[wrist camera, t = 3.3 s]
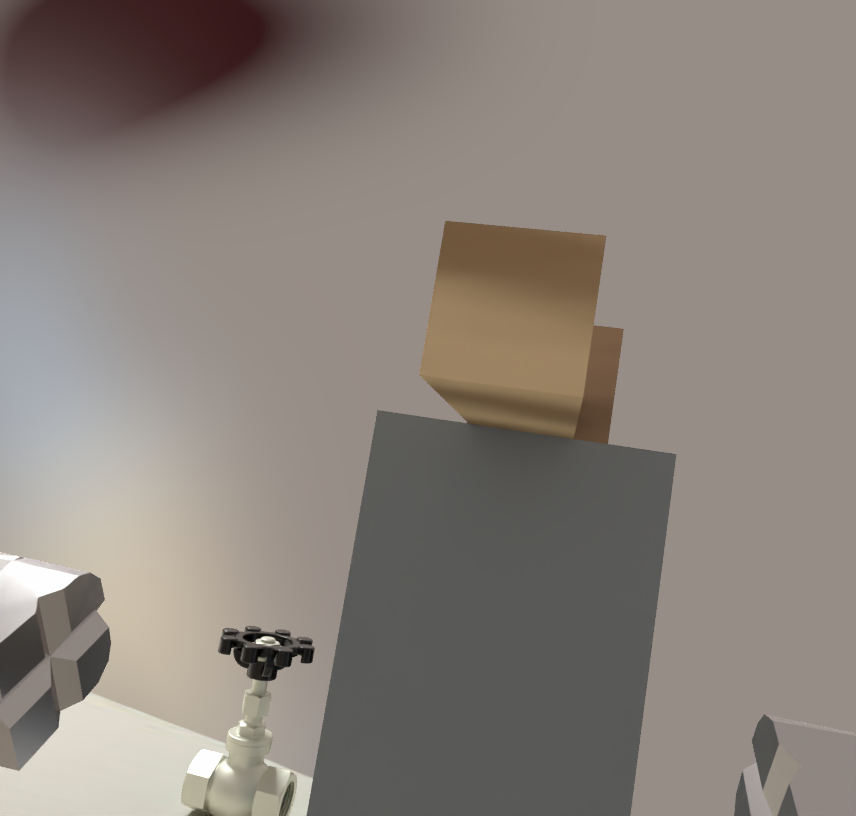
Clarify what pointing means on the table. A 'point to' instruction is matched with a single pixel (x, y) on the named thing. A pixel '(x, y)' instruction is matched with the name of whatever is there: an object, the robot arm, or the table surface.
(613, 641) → the grey slab on plinth
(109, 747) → the table surface
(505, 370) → the rail
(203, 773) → the valve
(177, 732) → the table surface
